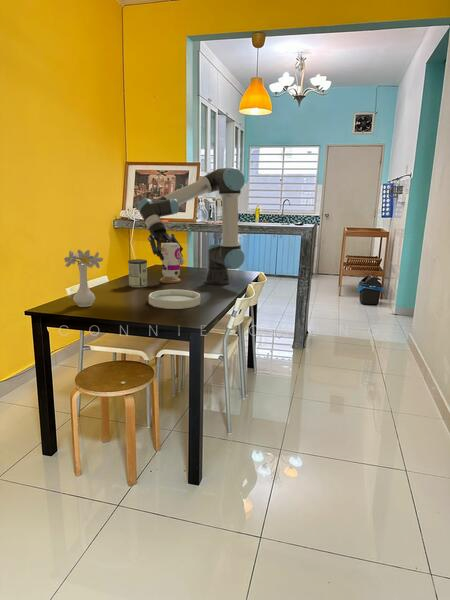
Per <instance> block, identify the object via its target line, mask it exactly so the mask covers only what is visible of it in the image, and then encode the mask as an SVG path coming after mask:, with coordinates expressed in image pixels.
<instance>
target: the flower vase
mask: <svg viewBox="0 0 450 600" xmlns="http://www.w3.org/2000/svg"><path fill="white" fill-rule="evenodd" d="M90 254H91V253H90V250H89V249H87V250H85V251H84V252H83V251H82V250H81V249H77V252H75V253H74V251H72V250H69V251H68V256H66V257H64V259H63V260H64V262H65V263H66V264H65V265H64V267H65V268H69V267H70V266H71V265H75V264H76V263H77V264H76V265H77V267H78V271H79V286H78V289H77V292H75V294H74V295H73V298H72V300H73V301H74V303H76V304H77V307H81V308H88V307H91V306H93V303H94V302H95V300H96V296H95V294H94V292H93V291H91V290H90V287H89V283H88V275H87V274H88V273H87V271H88V268H89V269H92V268H93V267H96V268H97V269H99V268H100V263H101V262H103V261H104V258H103V257H99V251H97V252H96V253H95V254H94V255H90Z"/></svg>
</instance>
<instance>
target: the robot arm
mask: <svg viewBox="0 0 450 600" xmlns="http://www.w3.org/2000/svg"><path fill="white" fill-rule="evenodd" d="M245 181H246V180H245V175H244V173H243V172H242V171H241V170H240V169H239V168H236V167H225V168H217V169H216V170H214V171H211V172H209V173H207V174H206V175H203V176H202V177H201V178H200V179H199V180H197V181H194V182H192V183H190V184H187V185H186V186H183V187H180V188H178V189H177V190H174V191H173V192H170V193H167V194H165V195H163V196H161V197H159V198H156V199H155V198H154V199H150V198H143V199H141V200H139V201H138V202H137V209H138V212H139V214H140V215H141V217H142V219H143V221H144V223H145V225H146V227H147V229H148V232H149V233H150V234H149V236H148V237H147V241H149V243H150V248H151V250H152V254H153V255H156V257H158V258H159V259H160V261H161V262H162V261H163V263H164V265H165V267H167V266H168V265H169V262H168V260H167V258H166V256H165V254H164V252H162V249H161V248H162V244H163V243H178V244H179V246H180V266H183V265H184V264H185V262H186V261H185V259H184V255H183V254H182V251H183V250H184V248H183V247H182V245H181V244H180V242H179V241H178V240H177V238H176V237H175V234H174V233H171V234H169V233H168V232H167V228H166V226H165V225H164V223H163V221H162V219H161V217H167V216H171V215H176V214H178V212H179V210H180V205H183V204H185V203H186V202H188V201H189V202H190V201H191V200H193V199H195V198H198V197H199V196H202V195H204V194H211V193H213V192H217V191H218V194H219V196H220V197H221V210H222V211H221V219H222V220H221V221H222V223H221V225H222V234H221V235H222V242H221V243H211V244H209V245H208V249H207V254H208V257H207V258H208V261H207V263H208V264H207V271H206V273H205V277H204V283H206V284H209V285H217V286H218V285H219V286H221V285H223V286H224V285H229V284H230V283H231V277H230V273H229V270H237V269H239V268H240V267H241V266H242V265H243V264H244V263H245V253H244V251H243V250H242V248H241V247H242V244H241V243H240V242H239V201H238V200H239V197H240V196H241V194H242V193H241V191H242V188H243V187H244V186H245Z"/></svg>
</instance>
